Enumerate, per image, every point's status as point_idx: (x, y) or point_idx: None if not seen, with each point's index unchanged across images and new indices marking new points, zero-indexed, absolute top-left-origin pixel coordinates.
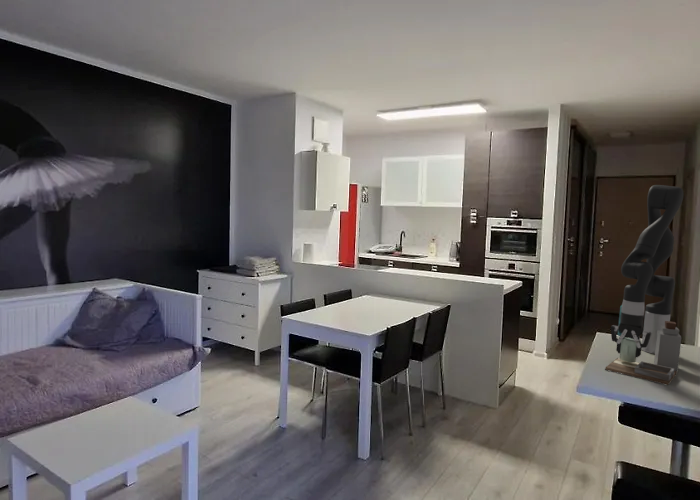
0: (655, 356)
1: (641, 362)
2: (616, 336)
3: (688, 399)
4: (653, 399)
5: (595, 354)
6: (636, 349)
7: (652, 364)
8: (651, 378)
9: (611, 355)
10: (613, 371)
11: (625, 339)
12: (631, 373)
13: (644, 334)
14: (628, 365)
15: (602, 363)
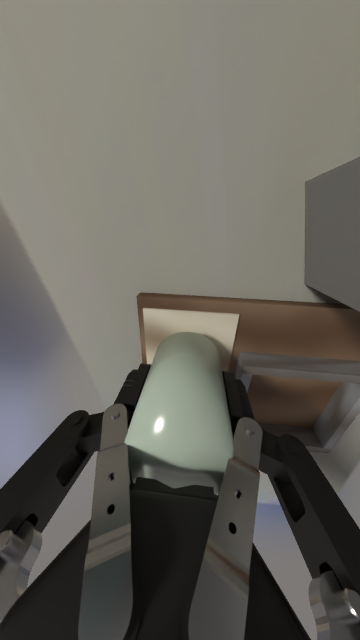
0: (339, 203)
1: (243, 382)
2: (71, 444)
3: (334, 479)
4: (263, 498)
5: (46, 275)
6: None
7: (288, 377)
8: None
9: (90, 224)
10: None
11: (151, 475)
12: None
13: (325, 634)
14: None
15: (121, 371)
